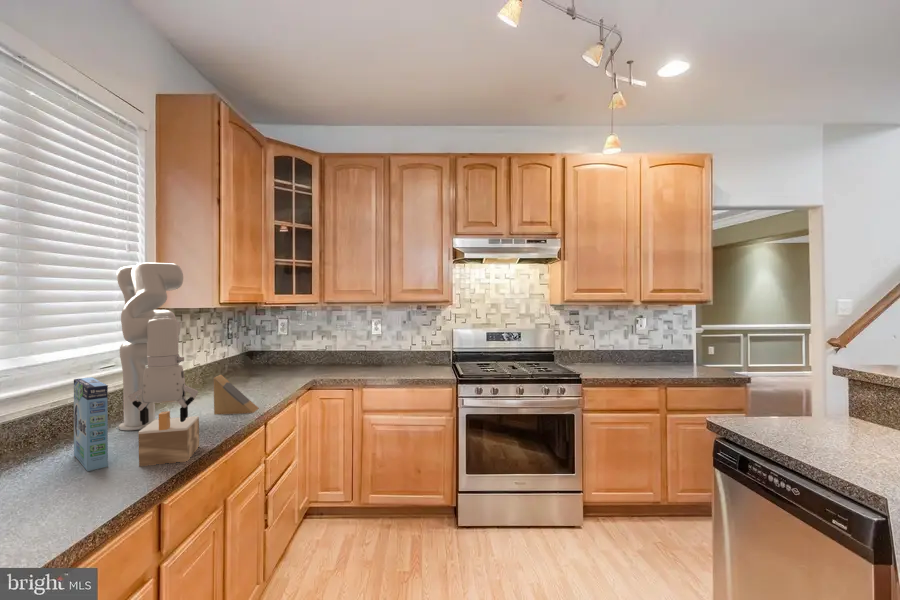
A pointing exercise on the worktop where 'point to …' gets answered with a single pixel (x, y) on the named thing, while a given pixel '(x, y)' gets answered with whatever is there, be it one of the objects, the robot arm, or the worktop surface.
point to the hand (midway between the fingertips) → (164, 422)
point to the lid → (168, 424)
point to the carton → (168, 446)
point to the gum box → (91, 423)
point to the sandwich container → (230, 398)
